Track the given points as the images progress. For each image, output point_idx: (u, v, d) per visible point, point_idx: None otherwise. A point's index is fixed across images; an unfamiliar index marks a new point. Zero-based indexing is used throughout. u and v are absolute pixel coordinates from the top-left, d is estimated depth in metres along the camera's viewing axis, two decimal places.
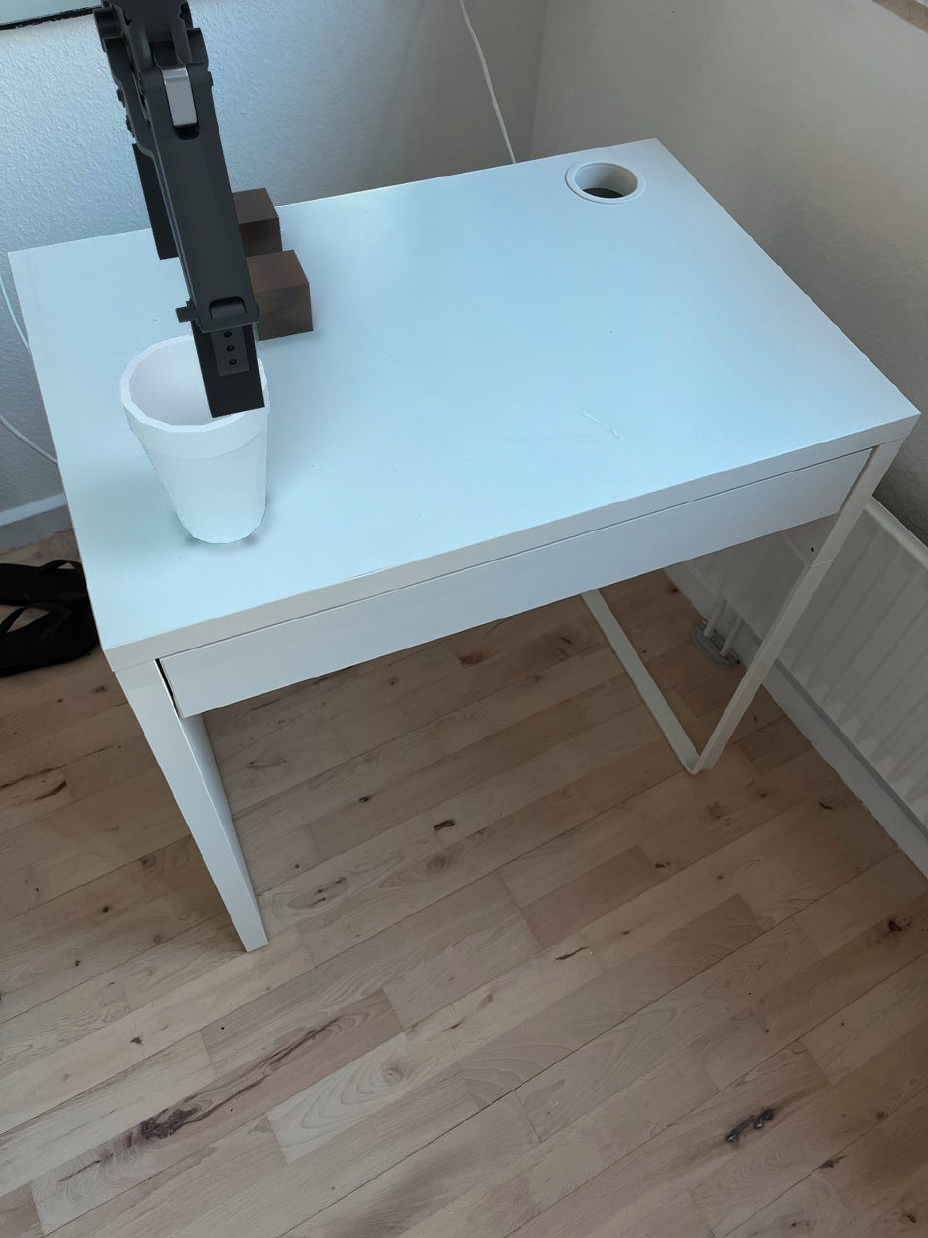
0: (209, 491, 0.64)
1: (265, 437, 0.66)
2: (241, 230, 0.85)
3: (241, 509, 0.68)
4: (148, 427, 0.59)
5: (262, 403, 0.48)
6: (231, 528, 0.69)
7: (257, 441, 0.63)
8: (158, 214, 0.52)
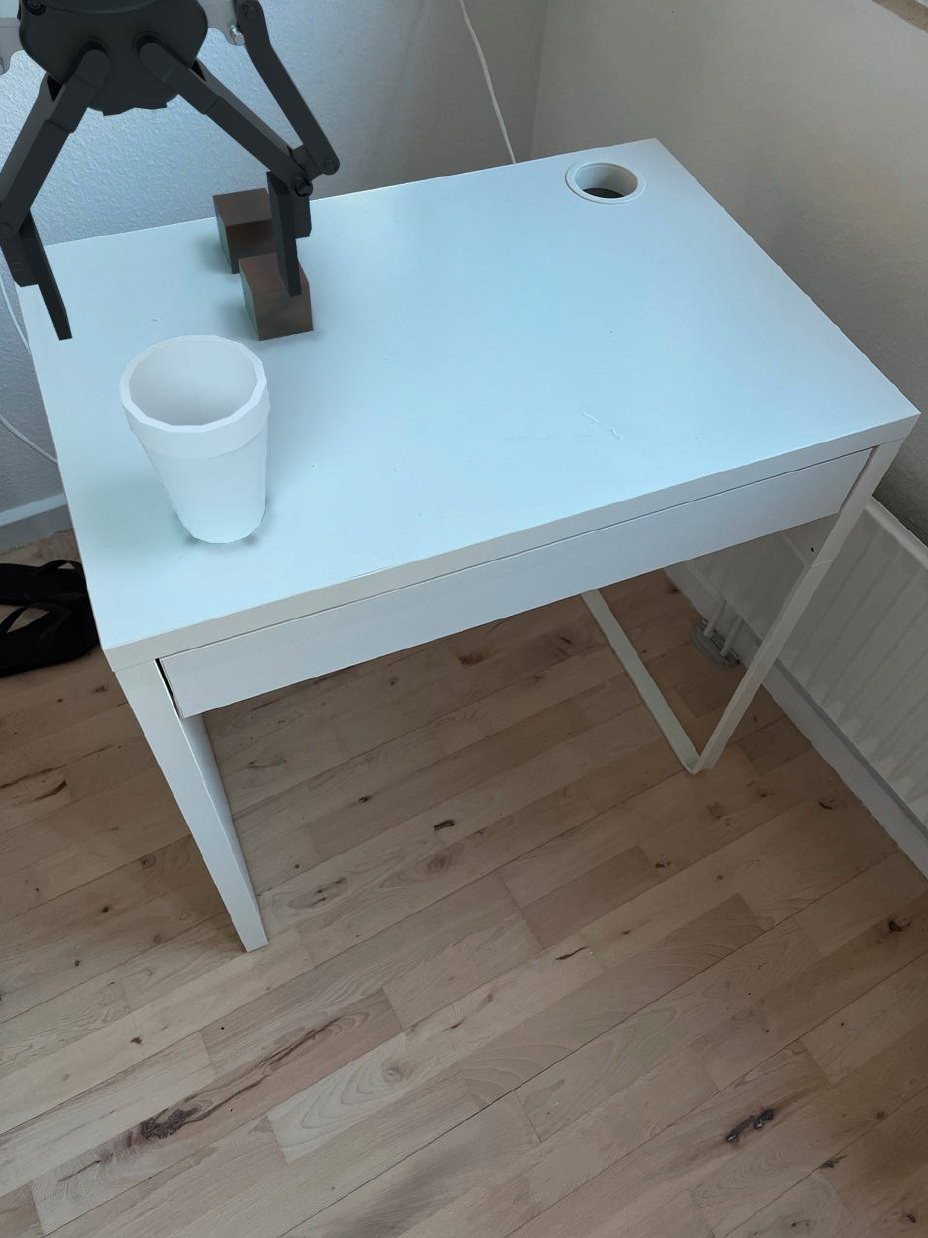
0: (209, 491, 0.64)
1: (265, 437, 0.66)
2: (241, 230, 0.85)
3: (241, 509, 0.68)
4: (148, 427, 0.59)
5: None
6: (231, 528, 0.69)
7: (257, 441, 0.63)
8: (56, 291, 0.52)
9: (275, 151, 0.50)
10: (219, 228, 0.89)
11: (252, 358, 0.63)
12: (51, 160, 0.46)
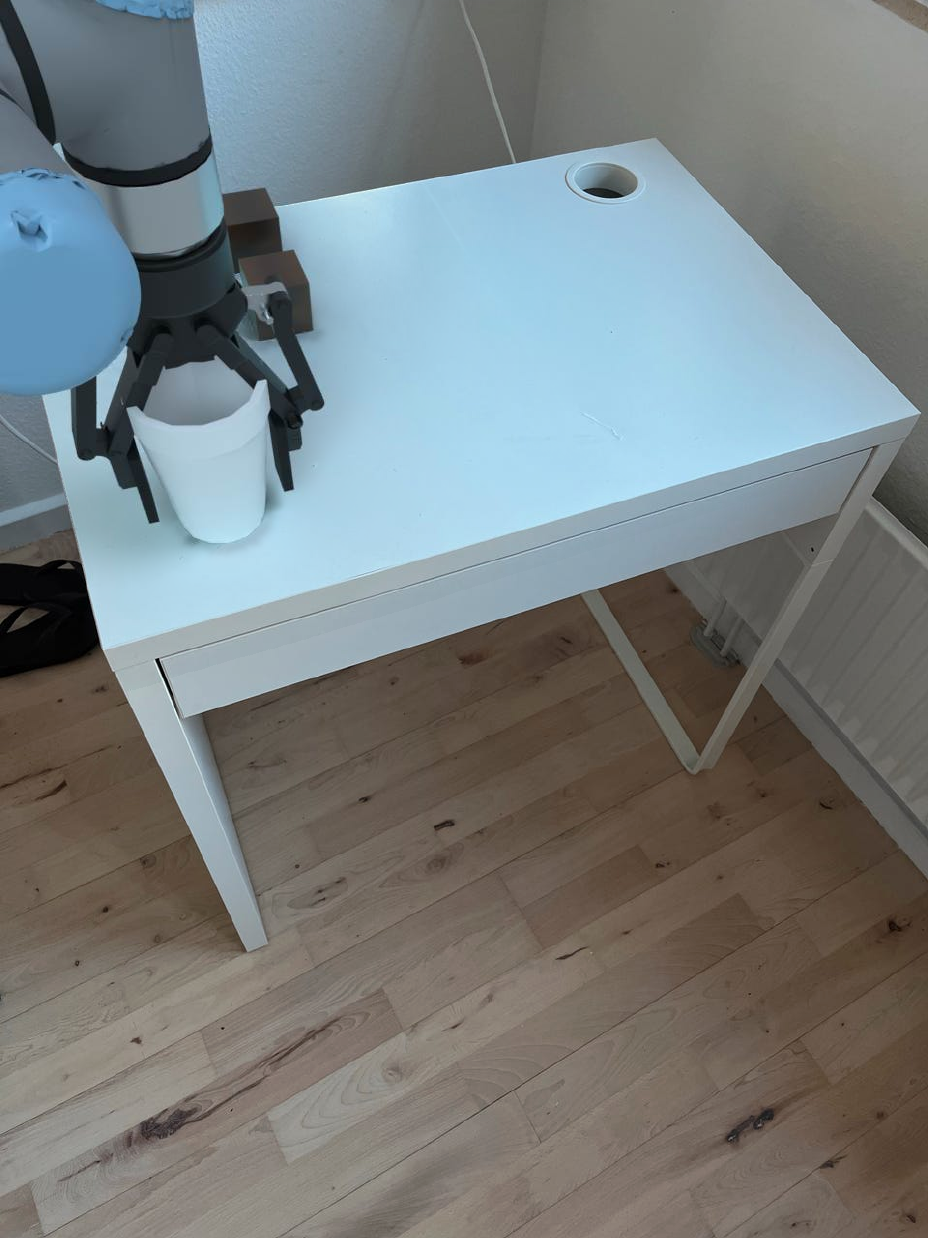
0: (209, 491, 0.64)
1: (265, 437, 0.66)
2: (241, 230, 0.85)
3: (241, 509, 0.68)
4: (148, 427, 0.59)
5: None
6: (231, 528, 0.69)
7: (257, 441, 0.63)
8: None
9: (279, 396, 0.64)
10: None
11: None
12: (142, 405, 0.60)
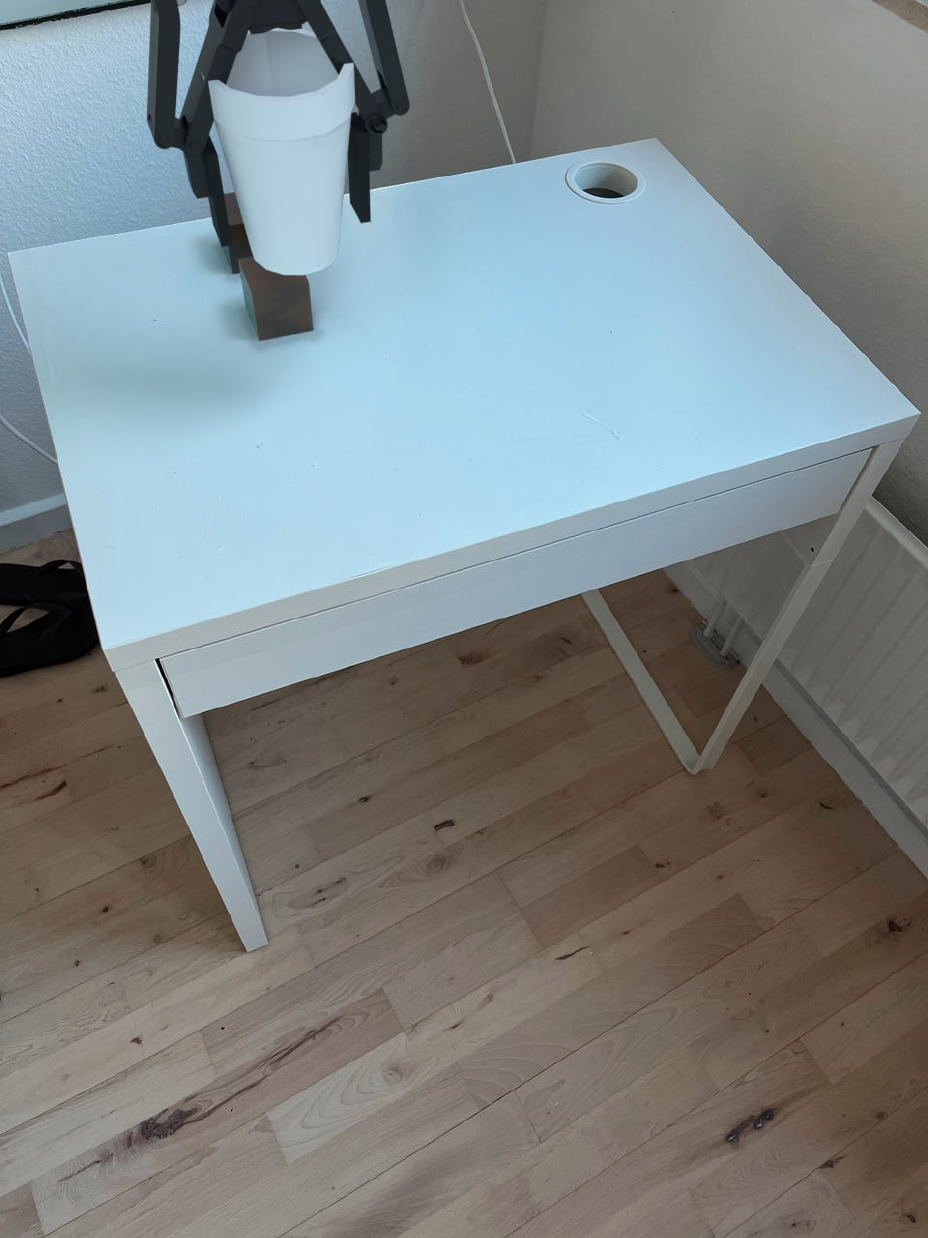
0: (289, 194, 0.61)
1: (347, 142, 0.62)
2: (241, 230, 0.85)
3: (319, 228, 0.64)
4: (232, 98, 0.56)
5: None
6: (307, 253, 0.66)
7: (341, 136, 0.60)
8: None
9: (364, 89, 0.60)
10: None
11: None
12: (225, 79, 0.57)
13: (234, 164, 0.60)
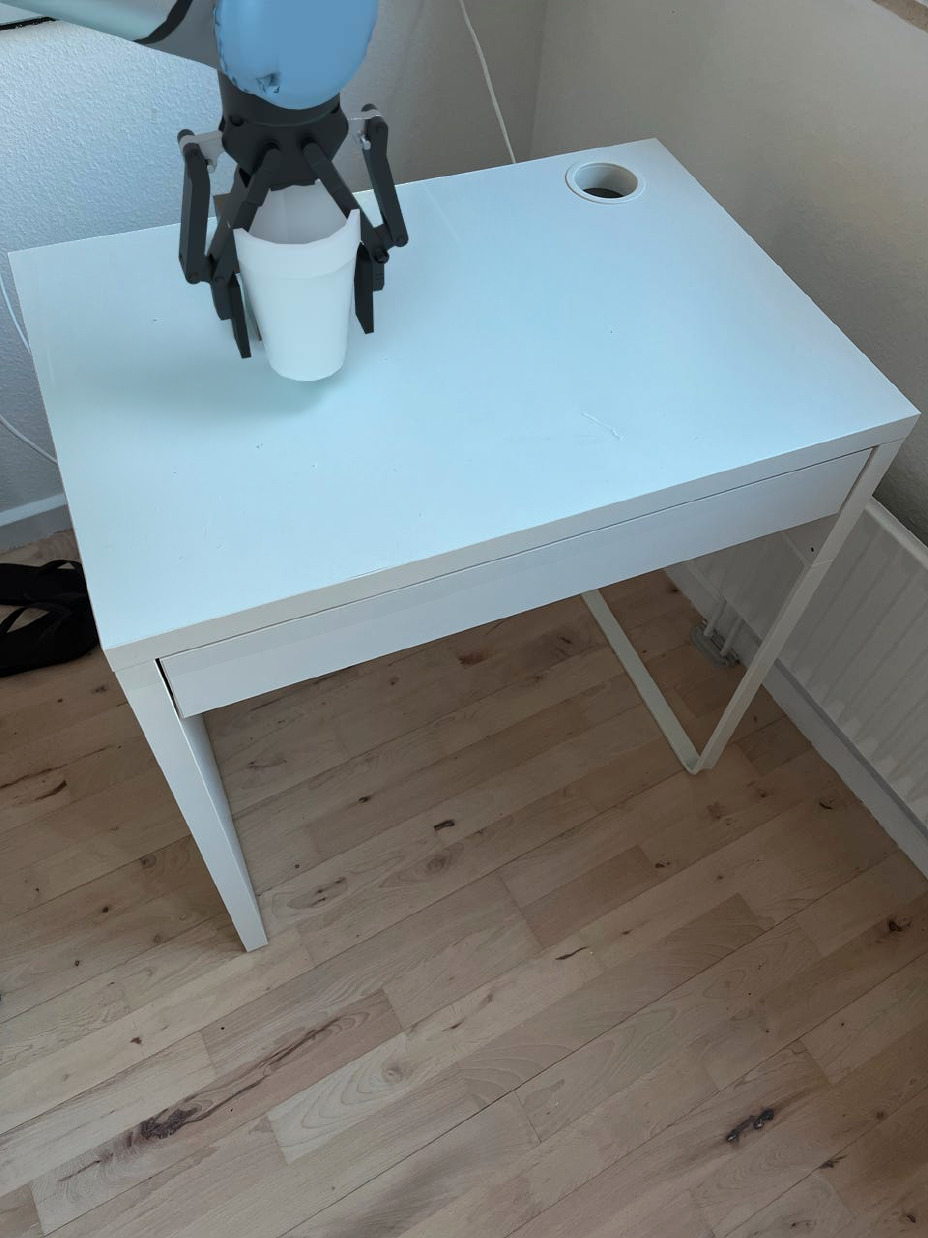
0: (303, 319, 0.69)
1: (353, 271, 0.70)
2: None
3: (329, 343, 0.73)
4: (254, 246, 0.64)
5: None
6: (318, 364, 0.74)
7: (348, 270, 0.68)
8: None
9: (369, 228, 0.68)
10: None
11: None
12: (247, 227, 0.65)
13: (254, 294, 0.69)
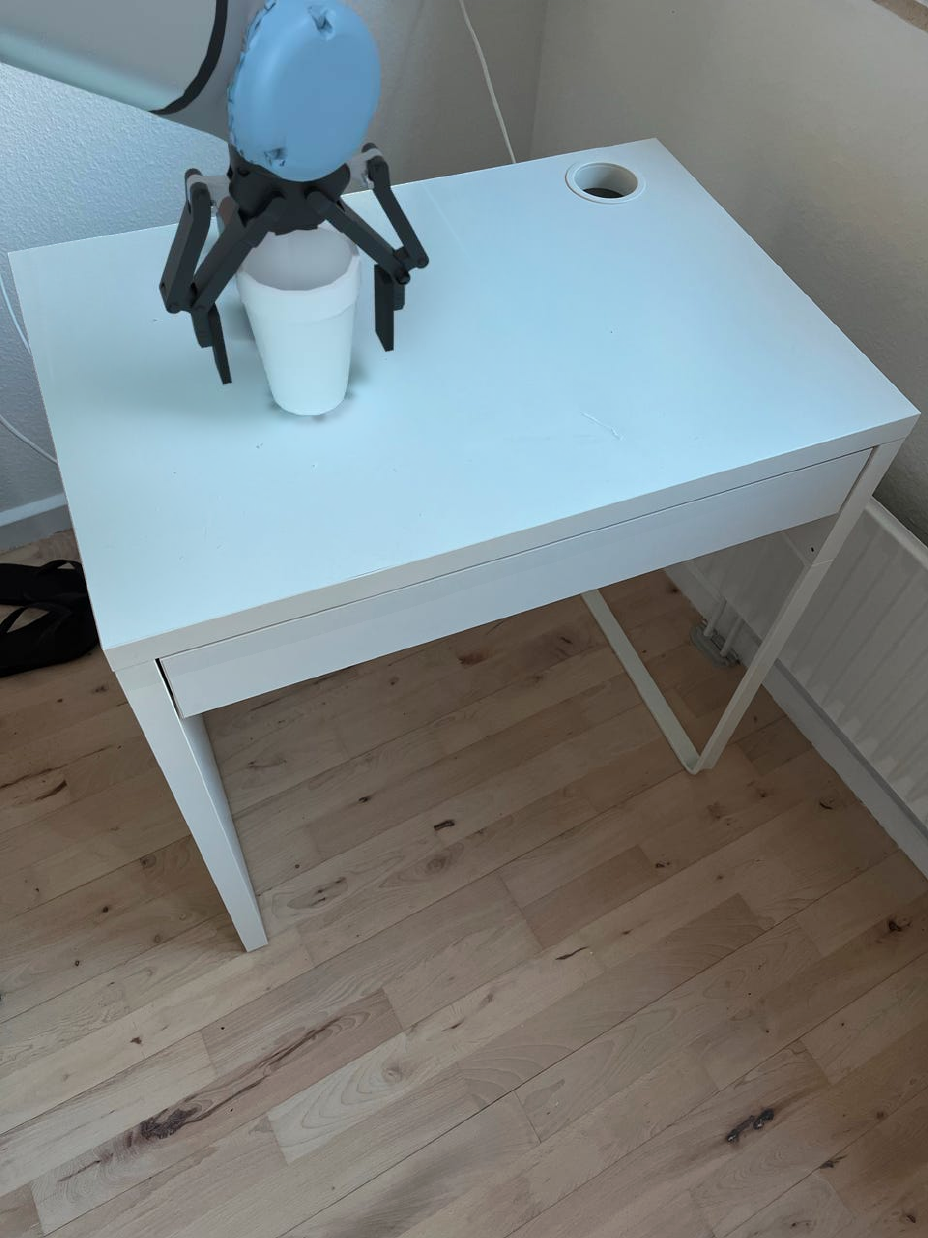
0: (306, 358, 0.73)
1: (354, 312, 0.74)
2: None
3: (331, 381, 0.76)
4: (260, 292, 0.67)
5: None
6: (320, 399, 0.77)
7: (350, 312, 0.72)
8: None
9: (386, 254, 0.71)
10: (219, 228, 0.89)
11: (346, 238, 0.71)
12: (238, 265, 0.67)
13: (260, 335, 0.72)
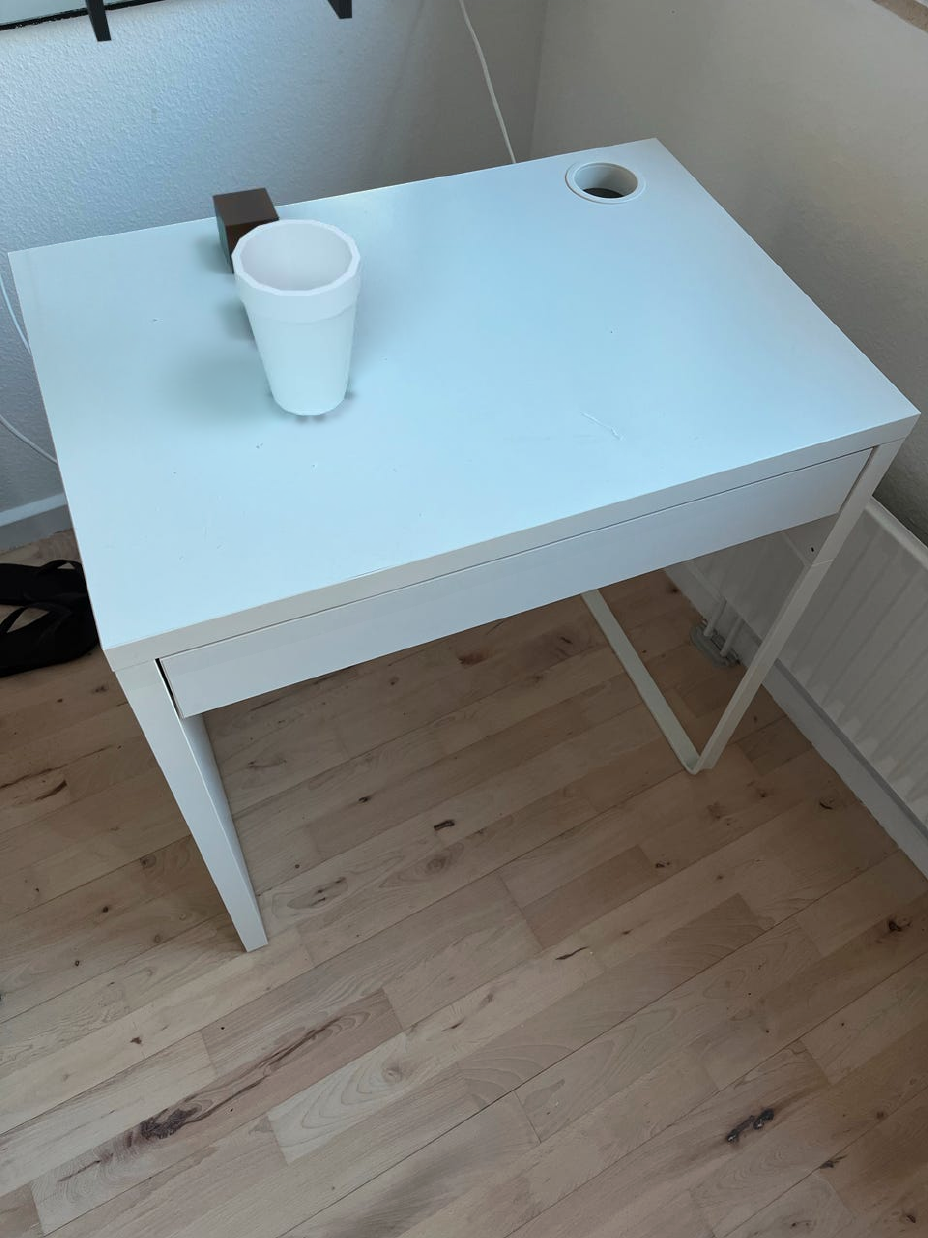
0: (306, 359, 0.73)
1: (354, 312, 0.74)
2: (241, 230, 0.85)
3: (331, 381, 0.76)
4: (260, 292, 0.67)
5: None
6: (320, 399, 0.77)
7: (350, 312, 0.72)
8: None
9: None
10: (219, 228, 0.89)
11: (346, 238, 0.71)
12: None
13: (260, 335, 0.72)
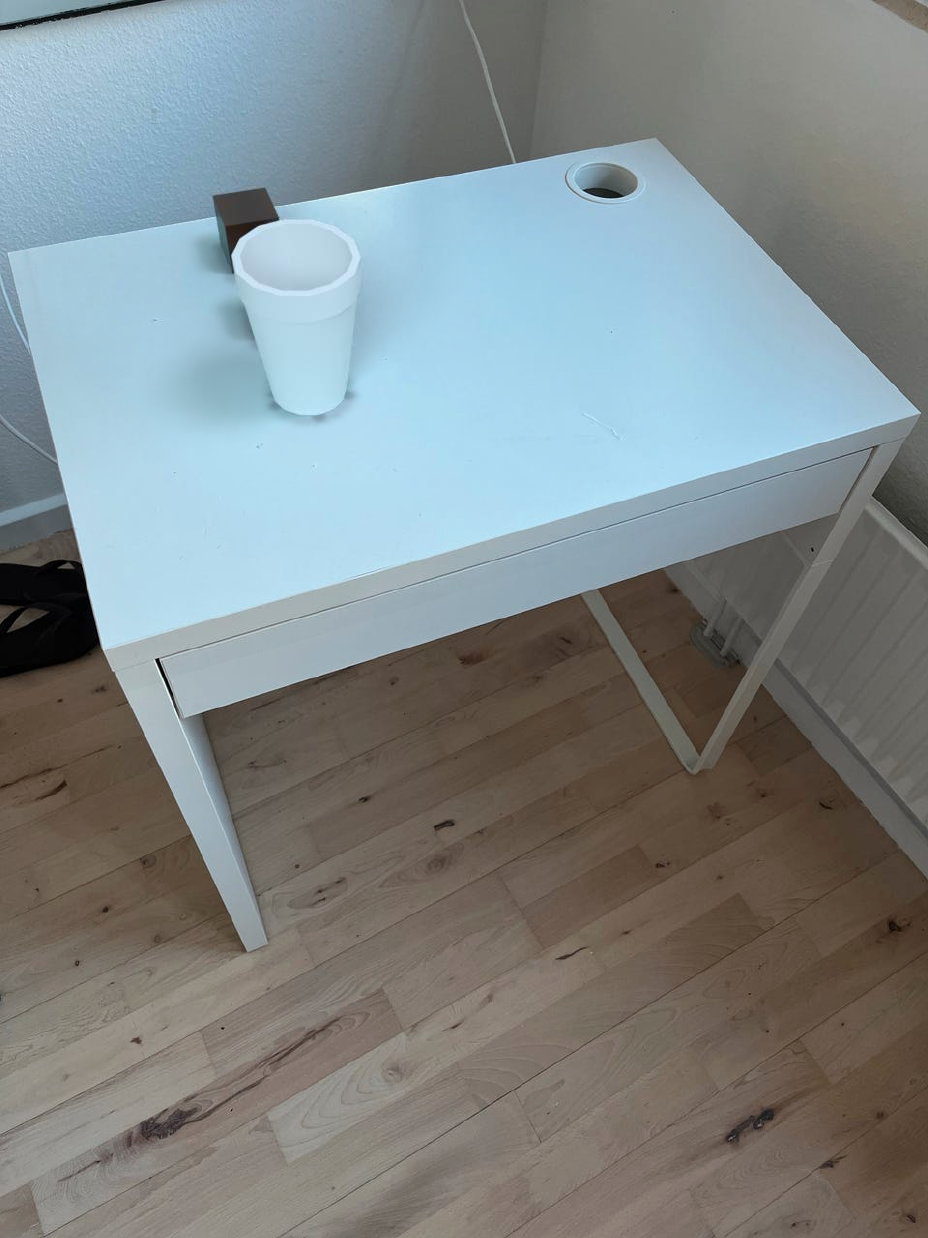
0: (306, 358, 0.73)
1: (354, 312, 0.74)
2: (241, 230, 0.85)
3: (331, 381, 0.76)
4: (260, 292, 0.67)
5: None
6: (320, 399, 0.77)
7: (350, 312, 0.72)
8: None
9: None
10: (219, 228, 0.89)
11: (346, 238, 0.71)
12: None
13: (260, 335, 0.72)
